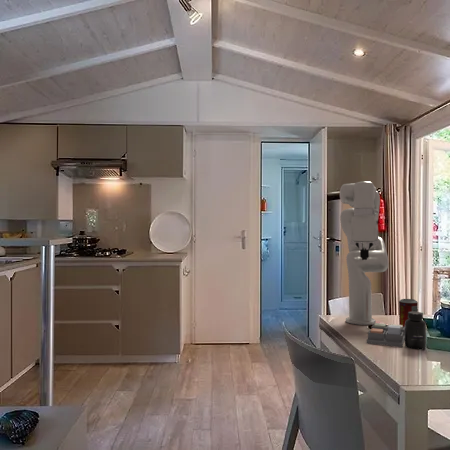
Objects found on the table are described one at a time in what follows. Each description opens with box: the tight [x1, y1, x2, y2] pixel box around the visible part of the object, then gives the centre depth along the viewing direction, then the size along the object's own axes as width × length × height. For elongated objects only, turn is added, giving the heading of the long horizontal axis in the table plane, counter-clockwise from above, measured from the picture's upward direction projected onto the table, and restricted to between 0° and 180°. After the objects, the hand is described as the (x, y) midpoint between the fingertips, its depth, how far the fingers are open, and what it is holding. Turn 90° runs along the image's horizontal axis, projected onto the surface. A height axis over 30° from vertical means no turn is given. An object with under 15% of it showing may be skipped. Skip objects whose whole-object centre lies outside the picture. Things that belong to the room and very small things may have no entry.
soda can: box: [398, 298, 419, 326], centre depth 177 cm, size 7×7×12 cm
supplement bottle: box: [404, 311, 427, 350], centre depth 152 cm, size 7×7×12 cm
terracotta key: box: [371, 327, 383, 334], centre depth 161 cm, size 4×4×2 cm
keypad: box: [366, 324, 405, 348], centre depth 164 cm, size 20×12×3 cm, turn 154°
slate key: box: [388, 324, 401, 335], centre depth 158 cm, size 4×4×2 cm
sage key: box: [374, 322, 387, 328], centre depth 170 cm, size 4×4×2 cm
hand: (364, 259), depth 172 cm, fingers closed
